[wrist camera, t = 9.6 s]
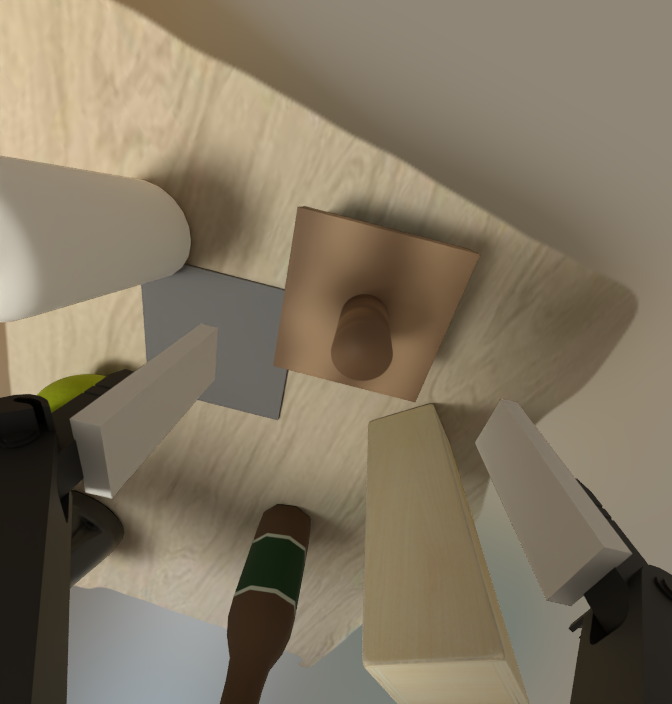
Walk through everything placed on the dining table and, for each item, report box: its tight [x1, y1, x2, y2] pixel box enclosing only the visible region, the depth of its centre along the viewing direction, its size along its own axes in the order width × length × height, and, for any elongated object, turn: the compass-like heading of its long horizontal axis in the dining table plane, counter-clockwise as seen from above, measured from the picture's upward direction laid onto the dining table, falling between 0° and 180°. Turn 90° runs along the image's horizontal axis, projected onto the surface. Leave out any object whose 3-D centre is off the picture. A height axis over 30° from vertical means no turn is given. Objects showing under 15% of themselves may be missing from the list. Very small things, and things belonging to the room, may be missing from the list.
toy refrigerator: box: [362, 404, 529, 704], centre depth 27 cm, size 8×7×21 cm
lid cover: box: [273, 206, 480, 402], centre depth 20 cm, size 12×12×8 cm
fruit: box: [38, 374, 107, 413], centre depth 33 cm, size 9×9×10 cm
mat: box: [141, 264, 287, 420], centre depth 33 cm, size 16×16×1 cm
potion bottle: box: [0, 156, 191, 322], centre depth 20 cm, size 8×8×18 cm
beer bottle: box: [220, 504, 310, 704], centre depth 35 cm, size 8×8×24 cm
